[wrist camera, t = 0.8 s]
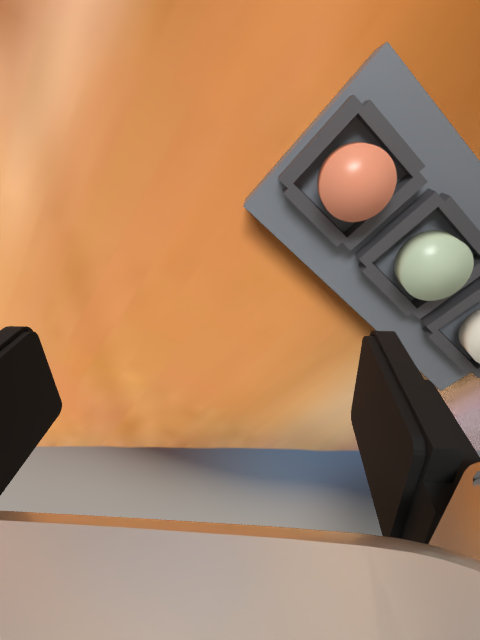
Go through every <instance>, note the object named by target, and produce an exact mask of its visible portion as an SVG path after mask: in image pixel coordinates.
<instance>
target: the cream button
mask: <svg viewBox="0 0 480 640" xmlns="http://www.w3.org/2000/svg"><path fill="white" fill-rule="evenodd" d="M458 336H459V341H460V343H461V345H462V346H463V347H464V348H465V349H466V351H467V352H468V353H469V354H470V355H471V357H472V358H473V359H474V360H475V361H476V362H478V363H479V364H480V308H479V309H477V310H475V311H474V312H472V313H471V314H470V315H469V316H467V317H466V319H465V320H464V321H463V323H462V324H461V326H460V329H459V335H458Z"/></svg>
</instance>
